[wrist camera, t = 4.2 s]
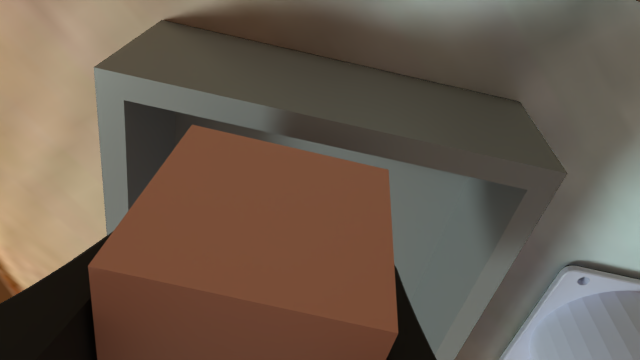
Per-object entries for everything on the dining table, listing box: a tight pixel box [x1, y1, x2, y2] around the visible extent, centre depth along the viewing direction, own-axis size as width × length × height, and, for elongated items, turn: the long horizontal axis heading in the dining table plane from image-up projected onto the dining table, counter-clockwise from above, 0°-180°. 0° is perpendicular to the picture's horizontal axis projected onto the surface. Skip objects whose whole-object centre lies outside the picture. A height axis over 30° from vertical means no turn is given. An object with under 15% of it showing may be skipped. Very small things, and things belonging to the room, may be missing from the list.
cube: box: [88, 125, 398, 360], centre depth 11 cm, size 5×5×5 cm
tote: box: [94, 20, 567, 360], centre depth 20 cm, size 14×18×5 cm
